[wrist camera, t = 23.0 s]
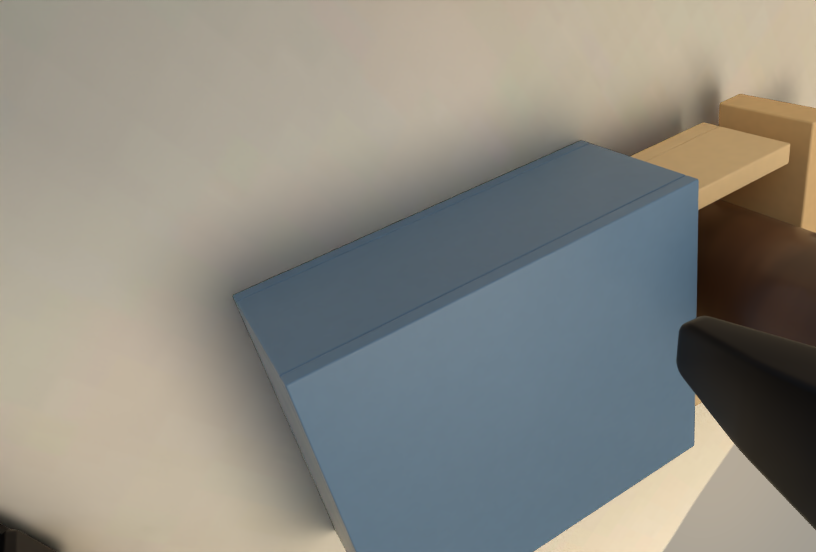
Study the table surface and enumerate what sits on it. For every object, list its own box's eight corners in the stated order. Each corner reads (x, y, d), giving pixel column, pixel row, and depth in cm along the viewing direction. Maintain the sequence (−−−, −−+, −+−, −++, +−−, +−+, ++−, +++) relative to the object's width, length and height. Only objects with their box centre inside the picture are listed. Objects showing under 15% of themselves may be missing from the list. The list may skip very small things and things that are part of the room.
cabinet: (581, 139, 25) (699, 178, 20) (601, 376, 31) (694, 445, 27) (231, 294, 21) (284, 385, 16) (335, 531, 27) (394, 643, 22)
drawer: (820, 55, 28) (921, 68, 25) (796, 266, 34) (876, 298, 30) (468, 217, 23) (539, 259, 20) (510, 434, 28) (570, 495, 25)
